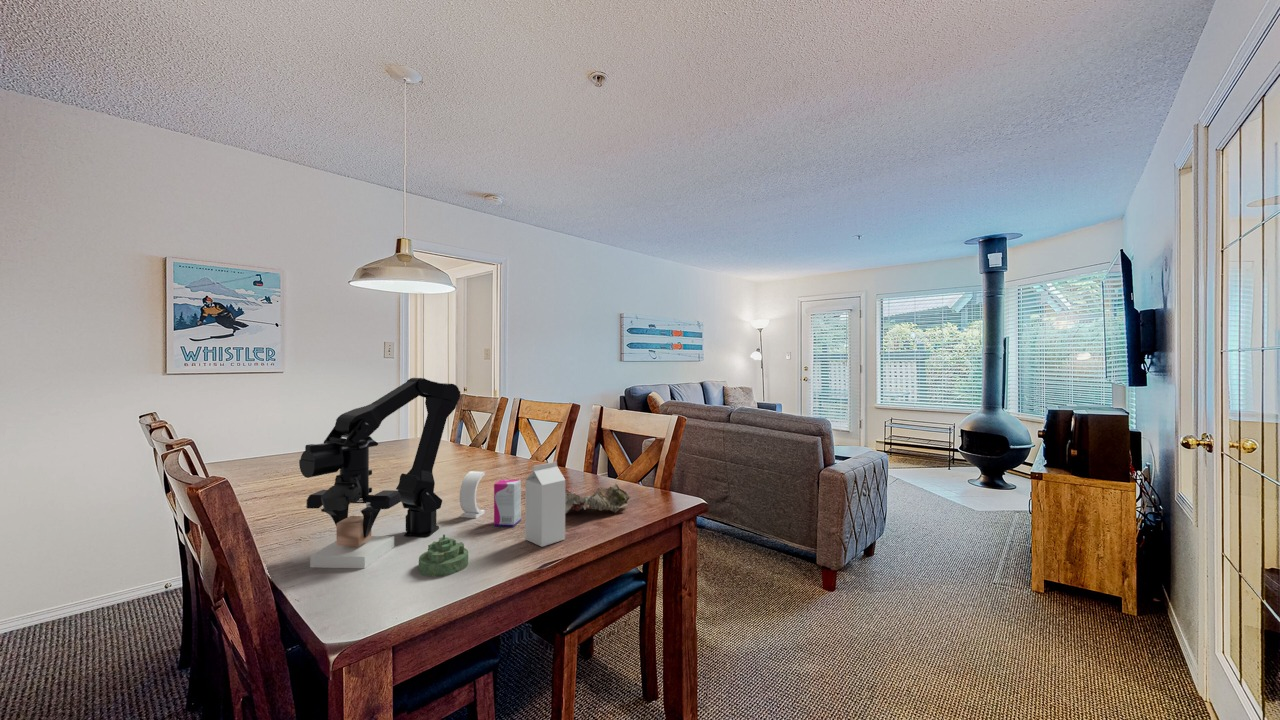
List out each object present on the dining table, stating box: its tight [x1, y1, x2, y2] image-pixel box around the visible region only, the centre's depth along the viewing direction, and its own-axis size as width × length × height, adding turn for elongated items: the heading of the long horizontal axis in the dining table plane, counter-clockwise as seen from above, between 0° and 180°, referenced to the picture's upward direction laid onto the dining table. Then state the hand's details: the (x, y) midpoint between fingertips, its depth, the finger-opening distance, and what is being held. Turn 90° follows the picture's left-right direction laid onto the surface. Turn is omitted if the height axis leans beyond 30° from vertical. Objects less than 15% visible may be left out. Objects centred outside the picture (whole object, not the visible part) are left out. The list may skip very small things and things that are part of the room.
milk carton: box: [524, 461, 566, 547], centre depth 123 cm, size 7×7×19 cm
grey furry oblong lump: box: [565, 483, 632, 516], centre depth 146 cm, size 25×16×8 cm, turn 131°
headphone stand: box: [459, 470, 486, 519], centre depth 142 cm, size 5×6×12 cm
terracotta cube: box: [336, 515, 372, 546], centre depth 112 cm, size 5×5×5 cm
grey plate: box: [309, 535, 395, 569], centre depth 112 cm, size 12×12×2 cm
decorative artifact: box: [418, 534, 469, 577], centre depth 108 cm, size 10×7×10 cm
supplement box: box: [493, 479, 522, 528], centre depth 136 cm, size 6×6×12 cm
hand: (354, 536), depth 112 cm, fingers closed on terracotta cube, 5 cm apart
